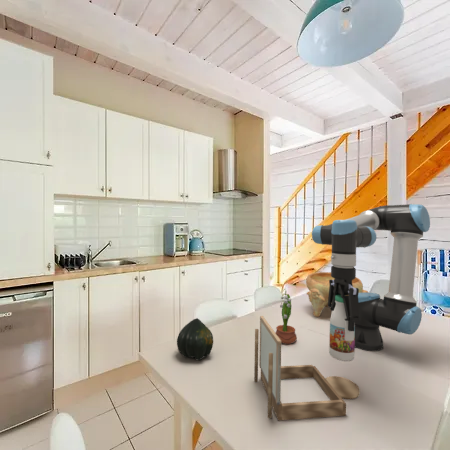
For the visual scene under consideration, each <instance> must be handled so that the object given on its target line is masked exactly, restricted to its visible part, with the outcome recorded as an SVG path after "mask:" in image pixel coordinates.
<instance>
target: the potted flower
mask: <svg viewBox="0 0 450 450" xmlns="http://www.w3.org/2000/svg"><path fill="white" fill-rule="evenodd" d="M284 291H285V293H284ZM281 295H282V296H281V297H280V300H283V302H281V304H280V305H279V308H281V316H282V323H283V324H280V325H277V326H276V328H275V329H276V331H274V332H275V333H276V335H277V336H278V337H279V339H280V340H281V344H285V345H289V344H293V343H295V342H296V341H297V338H298V337H297V334H296V328H295V327H294V326H292V325H288V321H289V319H290V317H291V315H292V298H291V296H290V294H288V293H287V290H286V288H284V289H283V290H282V294H281Z"/></svg>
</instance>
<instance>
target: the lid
mask: <svg viewBox="0 0 450 450" xmlns="http://www.w3.org/2000/svg"><path fill="white" fill-rule="evenodd" d="M275 332H276V331H274V328H272V327H271V325H270V324H269V322H268V321H267V320H266V318H265V317H264V316H263V315H260V316H259V358H258V367H259V368H260V371H261V370H262V372H263V374H264V377H265V379H266V381H267V383H268V366H269V353H273V385H272V394H273V396H274V399H275V401H276V404H277V405H280V401H281V394H282V393H281V391H282V389H281V387H282V386H281V384H282V383H281V382H282V379H281V366H282V343H281V340H280V339H279V337H278V336H277V335H276V333H275Z"/></svg>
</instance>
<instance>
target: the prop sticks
mask: <svg viewBox="0 0 450 450" xmlns="http://www.w3.org/2000/svg"><path fill="white" fill-rule="evenodd" d="M259 335H260V328H259V329H258V328H255V329H254V367H253V368H254V370H253V371H254V373H253V374H254V377H253V380H254V381H253V382H254V383H258V380H259V379H258V378H259ZM272 385H273V353H269V366H268V395H267V418H268V419H273V407H272Z"/></svg>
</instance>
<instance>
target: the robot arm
mask: <svg viewBox="0 0 450 450" xmlns="http://www.w3.org/2000/svg"><path fill="white" fill-rule="evenodd" d="M430 227H431V218H430V214H429V212H428V210H427V208H426V207H425V205H424V204H415V203H413V204H412V203H409V204H394V205H393V204H391V205H389V204H388V205H381V206H377V207H373V208H371V209H366V210H364V211H362V212H360V213H359V214H358V215H356V216H353V217H349V218H346V219H336V220H333V221H332V223H330V224H326V225H323V224H321V225H316V226H314V227H313V229H312V231H311V238H312V241H313V242H314V243H315V244H318V245H322V246H324V245H325V246H328V245H329V246H331V255H330V259H331V267H330V272H331V276H332V277H333V278H335V279H334V280H329V285H330V287H329V297H328V307H327V308H330V311H331V314H332V312H333V311H334V308H335V306H336V302H335V296H336V295H341V298H343V302H344V307H345V312H346V318H347V319H345V340H346V341H354V325H355V348H357V349H360V350H365V351H370V352H371V351H372V352H377V351H382V350H383V349H384V344H385V343H384V340H383V336H382V333H381V330H380V327H381V328H385V329H389V330H392V331H394V332H397V333H401V334H405V335H413V334H415V332H417V330H418V329H419V327H420V325H421V321H422V317H423V313H422V312H423V311H422V309H421V307H419V306H418V305H417V303H418V302H417V301H416V299H415V298H414V286H415V276H416V275H415V274H416V263H417V254H418V244H419V240H420V239H422V238H423V237H424V233H427V232H429V230H430ZM376 231H389V232H390V235H391V236H392V238H393V245H392V256H391V264H390V265H391V266H390V273H389V274H390V275H389V285H388V292H387V293H385V294H384V295H383V298H381V296H380V294H379V293H376V292H369V293H359V289H358V288H354V287H353V285H352V280H353V279H355V278H356V277H357V273H356V271H357V268H356V266H357V248H364V249H365V248H368V247H371V246H373V245H374V244H375V242H376V240H377V233H376ZM345 295H348V296H345ZM331 302H332V303H331Z"/></svg>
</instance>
